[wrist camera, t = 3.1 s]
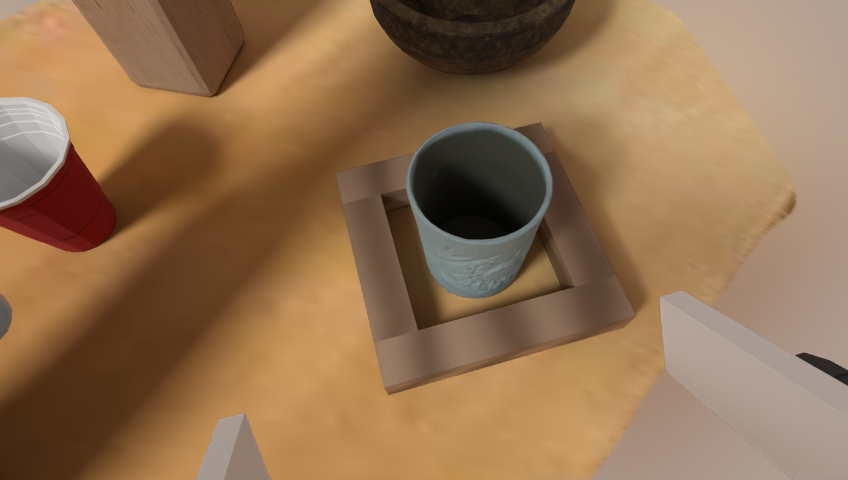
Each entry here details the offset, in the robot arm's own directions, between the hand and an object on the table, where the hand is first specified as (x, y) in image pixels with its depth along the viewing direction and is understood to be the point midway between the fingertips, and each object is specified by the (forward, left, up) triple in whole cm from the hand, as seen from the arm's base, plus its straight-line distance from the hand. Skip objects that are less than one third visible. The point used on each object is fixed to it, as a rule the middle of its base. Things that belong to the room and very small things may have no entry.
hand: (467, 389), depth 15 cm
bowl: (+14, +42, -25) cm, 51 cm away
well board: (+6, +16, -25) cm, 30 cm away
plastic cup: (-28, +29, -25) cm, 47 cm away
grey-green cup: (+6, +16, -25) cm, 30 cm away
